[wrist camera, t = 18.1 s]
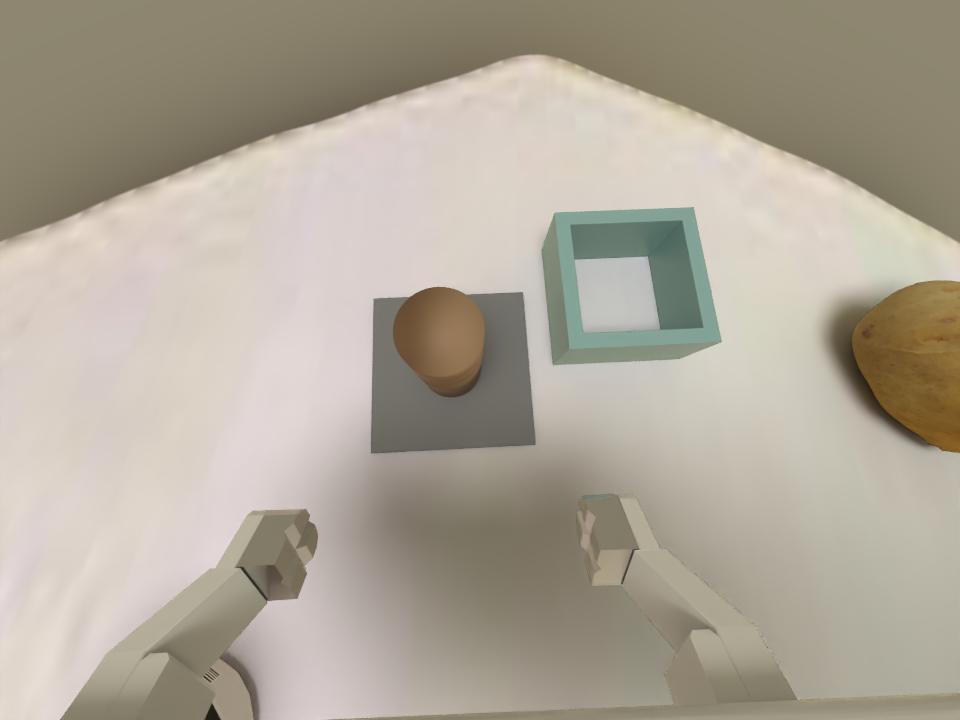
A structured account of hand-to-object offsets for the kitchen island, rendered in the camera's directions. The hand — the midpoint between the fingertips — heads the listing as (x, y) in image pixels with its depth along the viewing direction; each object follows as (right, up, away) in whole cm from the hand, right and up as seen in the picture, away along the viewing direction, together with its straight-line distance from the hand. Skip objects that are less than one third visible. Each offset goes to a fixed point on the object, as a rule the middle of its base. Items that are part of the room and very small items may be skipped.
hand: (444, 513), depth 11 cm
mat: (-1, +4, +17) cm, 17 cm away
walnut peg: (-1, +4, +16) cm, 17 cm away
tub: (+12, +9, +18) cm, 23 cm away
